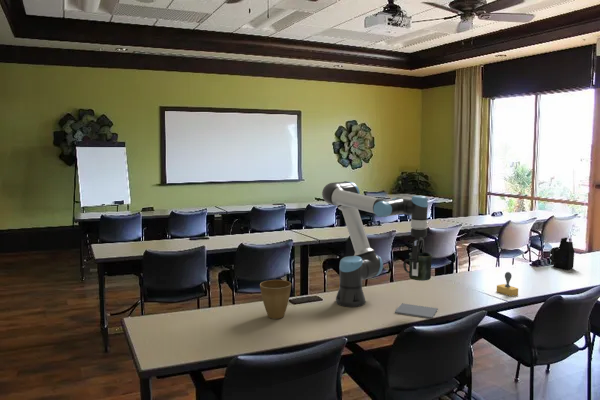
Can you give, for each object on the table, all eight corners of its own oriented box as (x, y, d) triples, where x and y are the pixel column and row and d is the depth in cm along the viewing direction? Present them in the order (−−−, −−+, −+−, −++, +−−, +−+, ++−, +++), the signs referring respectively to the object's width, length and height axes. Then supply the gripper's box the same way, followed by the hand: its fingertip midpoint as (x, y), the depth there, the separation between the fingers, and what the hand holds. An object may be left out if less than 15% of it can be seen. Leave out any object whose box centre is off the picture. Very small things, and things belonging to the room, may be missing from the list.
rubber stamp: (518, 294, 274) (519, 273, 273) (511, 296, 271) (512, 274, 270) (503, 290, 283) (504, 269, 281) (496, 291, 280) (497, 270, 279)
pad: (394, 313, 245) (394, 311, 244) (402, 304, 257) (402, 303, 257) (432, 318, 237) (432, 317, 237) (437, 309, 249) (437, 308, 249)
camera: (554, 264, 341) (556, 235, 339) (574, 268, 330) (576, 238, 328) (546, 266, 335) (548, 236, 333) (566, 270, 324) (568, 240, 322)
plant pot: (297, 314, 243) (297, 282, 241) (280, 323, 230) (280, 290, 228) (271, 309, 250) (271, 277, 249) (253, 318, 238) (253, 285, 236)
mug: (436, 280, 241) (437, 255, 240) (408, 282, 237) (409, 257, 236) (424, 274, 252) (425, 251, 250) (397, 276, 247) (398, 252, 246)
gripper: (421, 232, 230) (420, 279, 233) (431, 225, 251) (430, 268, 253) (405, 231, 233) (404, 277, 236) (416, 223, 254) (415, 266, 257)
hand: (417, 272), depth 245 cm, fingers closed on mug, 11 cm apart
